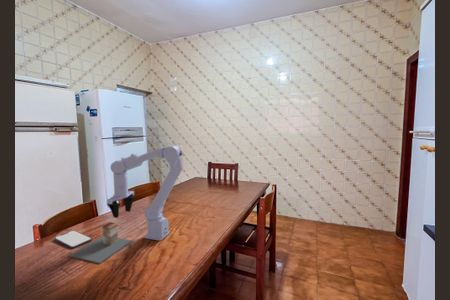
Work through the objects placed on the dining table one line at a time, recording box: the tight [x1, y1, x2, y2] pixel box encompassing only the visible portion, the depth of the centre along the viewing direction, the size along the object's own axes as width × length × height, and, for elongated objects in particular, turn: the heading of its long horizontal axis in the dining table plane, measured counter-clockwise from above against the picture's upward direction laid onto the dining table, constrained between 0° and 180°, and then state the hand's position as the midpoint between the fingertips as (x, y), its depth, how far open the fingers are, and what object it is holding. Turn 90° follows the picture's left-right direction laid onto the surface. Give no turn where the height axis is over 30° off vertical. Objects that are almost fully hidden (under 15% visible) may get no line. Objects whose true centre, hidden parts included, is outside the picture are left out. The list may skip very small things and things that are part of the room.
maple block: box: [101, 221, 119, 245], centre depth 95 cm, size 4×4×8 cm
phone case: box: [53, 230, 93, 250], centre depth 98 cm, size 9×2×16 cm
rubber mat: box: [68, 235, 133, 265], centre depth 91 cm, size 16×17×1 cm
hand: (122, 214), depth 102 cm, fingers open, 7 cm apart
